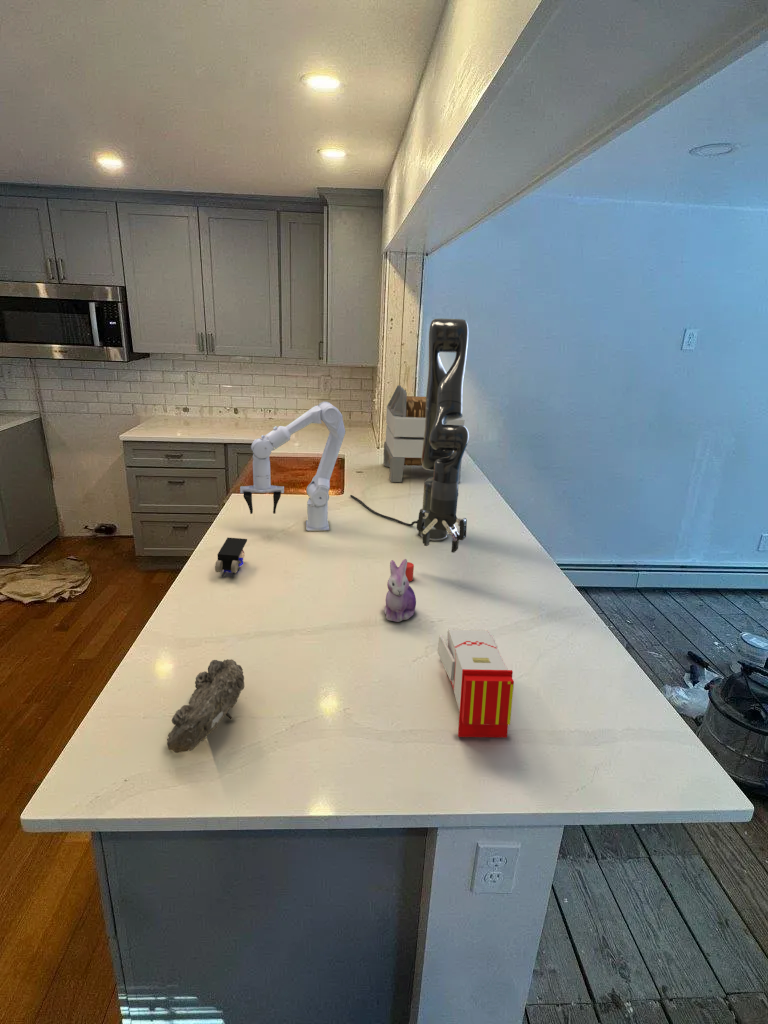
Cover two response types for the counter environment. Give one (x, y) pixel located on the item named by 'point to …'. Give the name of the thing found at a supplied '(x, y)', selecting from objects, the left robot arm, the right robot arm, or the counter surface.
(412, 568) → the canister
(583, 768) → the counter surface
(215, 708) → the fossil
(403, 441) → the grey storage crate
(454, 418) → the right robot arm
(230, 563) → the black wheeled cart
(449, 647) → the toy
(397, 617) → the figurine
